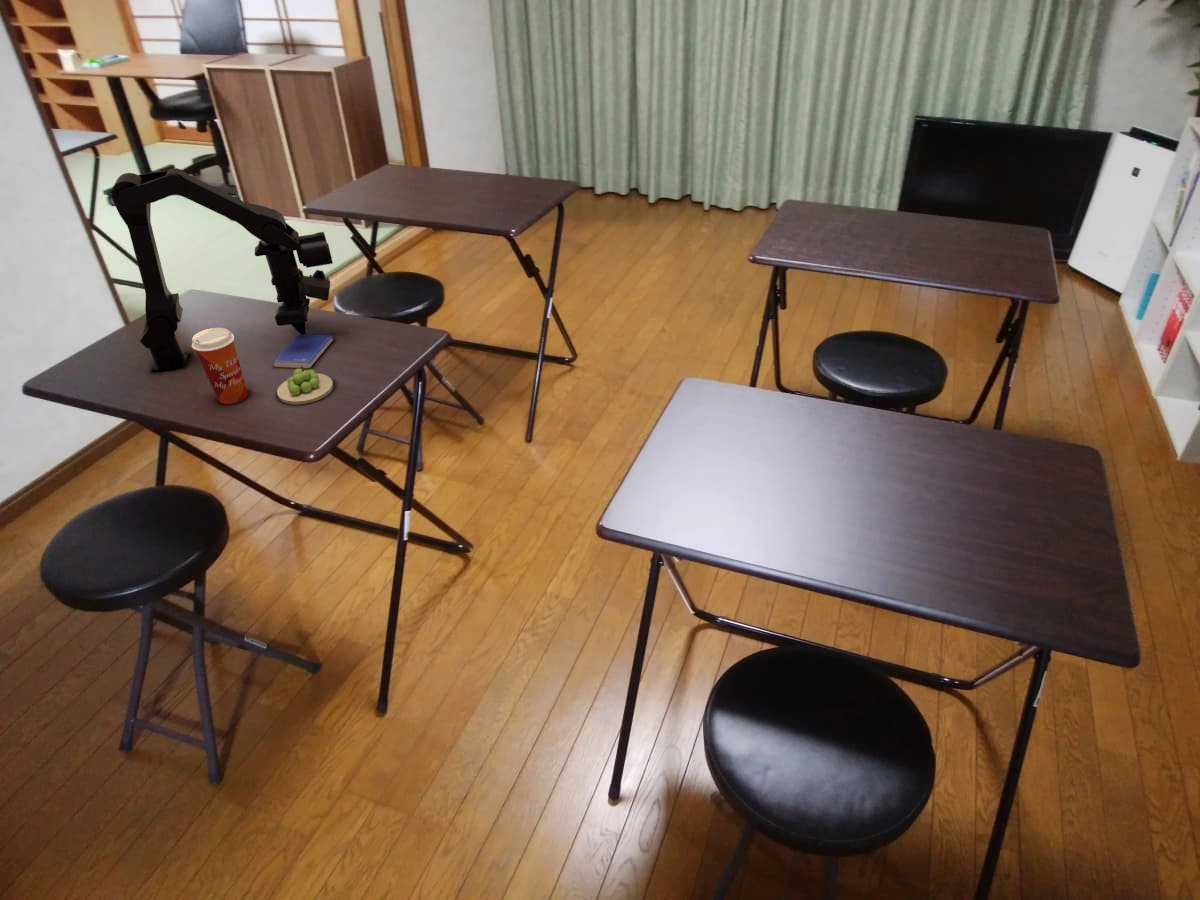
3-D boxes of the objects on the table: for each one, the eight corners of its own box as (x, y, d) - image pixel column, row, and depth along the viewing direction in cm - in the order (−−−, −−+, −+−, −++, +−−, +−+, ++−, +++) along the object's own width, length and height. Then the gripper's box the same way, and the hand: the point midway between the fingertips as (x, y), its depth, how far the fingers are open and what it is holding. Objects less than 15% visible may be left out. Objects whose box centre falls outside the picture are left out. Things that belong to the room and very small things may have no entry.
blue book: (308, 362, 163) (331, 335, 173) (272, 360, 164) (297, 333, 173) (310, 368, 164) (333, 341, 174) (274, 367, 164) (299, 340, 174)
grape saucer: (280, 380, 160) (279, 377, 159) (334, 373, 162) (333, 370, 161) (275, 408, 151) (274, 404, 151) (332, 400, 153) (331, 396, 153)
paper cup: (226, 411, 151) (202, 348, 142) (205, 399, 154) (181, 337, 146) (261, 394, 156) (240, 332, 147) (240, 382, 159) (218, 322, 151)
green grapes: (290, 379, 158) (284, 359, 155) (321, 375, 159) (315, 355, 157) (287, 398, 152) (280, 377, 150) (319, 393, 154) (313, 372, 151)
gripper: (321, 283, 159) (339, 348, 168) (324, 249, 173) (340, 311, 182) (265, 290, 157) (286, 356, 166) (273, 255, 171) (292, 317, 180)
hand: (303, 334), depth 174 cm, fingers closed
